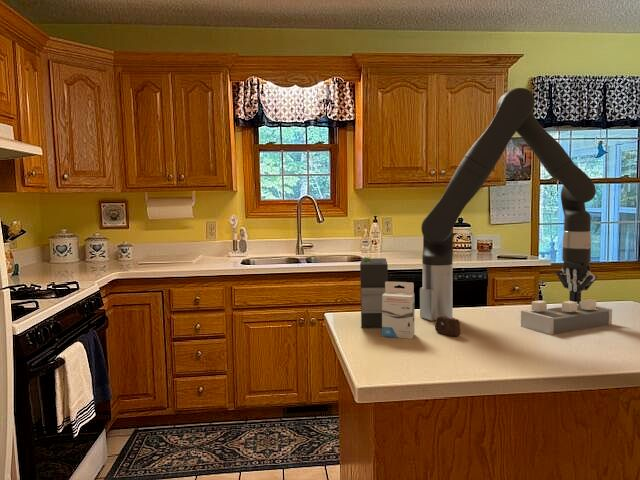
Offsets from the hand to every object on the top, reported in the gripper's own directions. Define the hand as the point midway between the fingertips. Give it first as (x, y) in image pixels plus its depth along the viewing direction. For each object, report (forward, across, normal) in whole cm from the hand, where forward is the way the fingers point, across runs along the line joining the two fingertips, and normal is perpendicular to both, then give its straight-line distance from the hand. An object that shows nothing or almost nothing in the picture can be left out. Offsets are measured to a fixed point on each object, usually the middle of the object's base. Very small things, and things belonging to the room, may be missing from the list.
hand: (575, 303), depth 148 cm
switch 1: (+1, -1, -14) cm, 14 cm away
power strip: (+5, +3, -6) cm, 9 cm away
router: (+6, -27, -54) cm, 60 cm away
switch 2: (+1, +4, -6) cm, 8 cm away
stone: (+6, -5, -43) cm, 43 cm away
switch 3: (+1, +4, 0) cm, 4 cm away
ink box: (+6, -10, -56) cm, 57 cm away
